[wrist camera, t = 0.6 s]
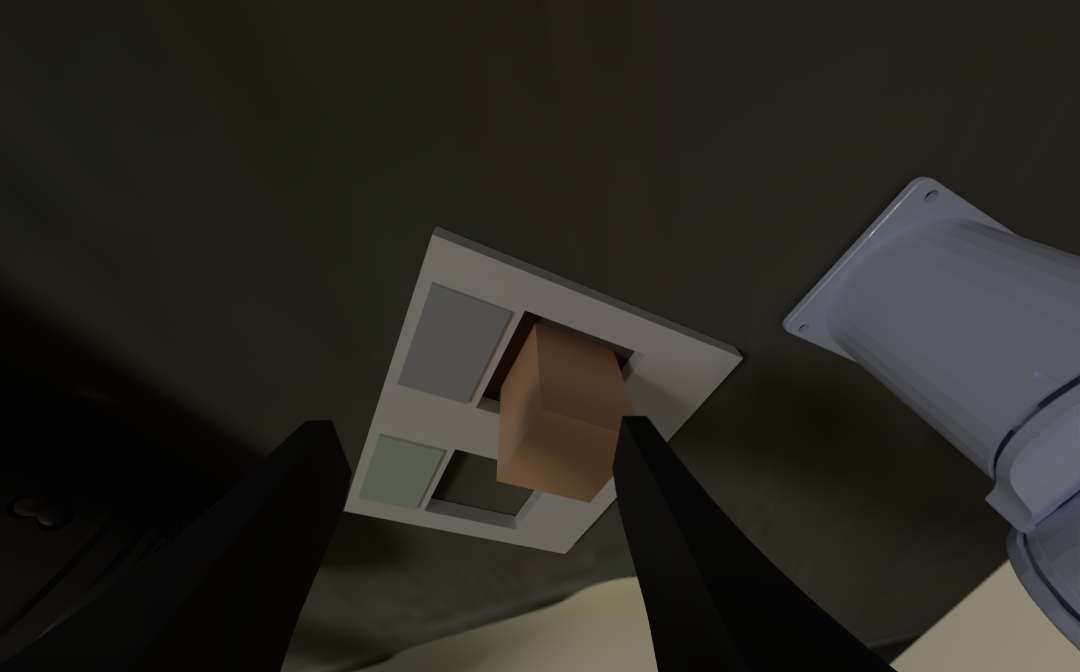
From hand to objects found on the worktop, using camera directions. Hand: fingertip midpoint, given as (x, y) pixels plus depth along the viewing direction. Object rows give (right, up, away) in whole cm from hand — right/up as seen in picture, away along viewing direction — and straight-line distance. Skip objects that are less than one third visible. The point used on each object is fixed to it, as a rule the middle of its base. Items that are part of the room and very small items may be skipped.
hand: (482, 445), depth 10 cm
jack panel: (0, -3, +13) cm, 14 cm away
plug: (+2, +1, +11) cm, 11 cm away
